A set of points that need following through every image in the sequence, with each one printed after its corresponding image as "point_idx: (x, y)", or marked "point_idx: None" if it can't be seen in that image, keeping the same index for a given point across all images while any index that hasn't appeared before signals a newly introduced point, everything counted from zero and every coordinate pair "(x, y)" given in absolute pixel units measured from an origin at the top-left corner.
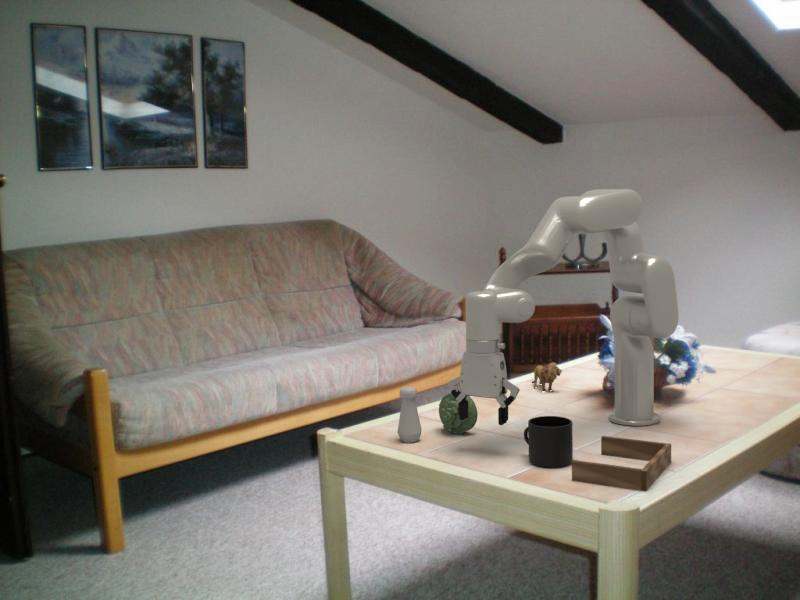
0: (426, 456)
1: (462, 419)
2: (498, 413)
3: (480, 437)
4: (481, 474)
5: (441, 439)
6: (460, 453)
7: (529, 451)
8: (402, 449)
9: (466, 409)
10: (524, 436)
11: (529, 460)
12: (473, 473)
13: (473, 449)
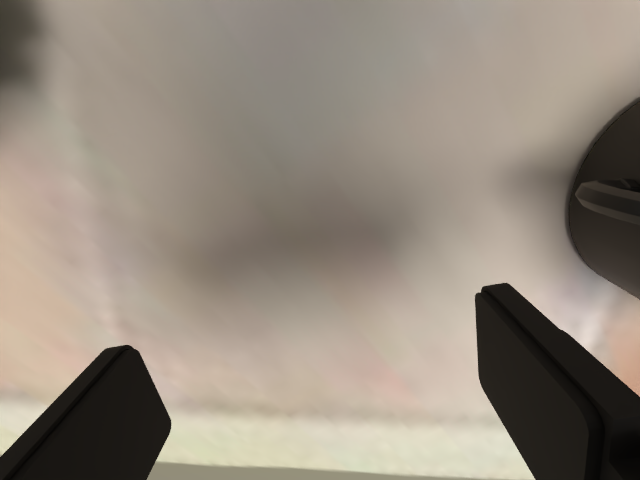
0: (170, 402)
1: (170, 428)
2: (536, 477)
3: (110, 28)
4: (459, 440)
5: (3, 199)
6: (242, 314)
7: (631, 292)
8: (34, 389)
9: (101, 436)
10: (595, 211)
11: (591, 267)
12: (429, 445)
13: (246, 240)
